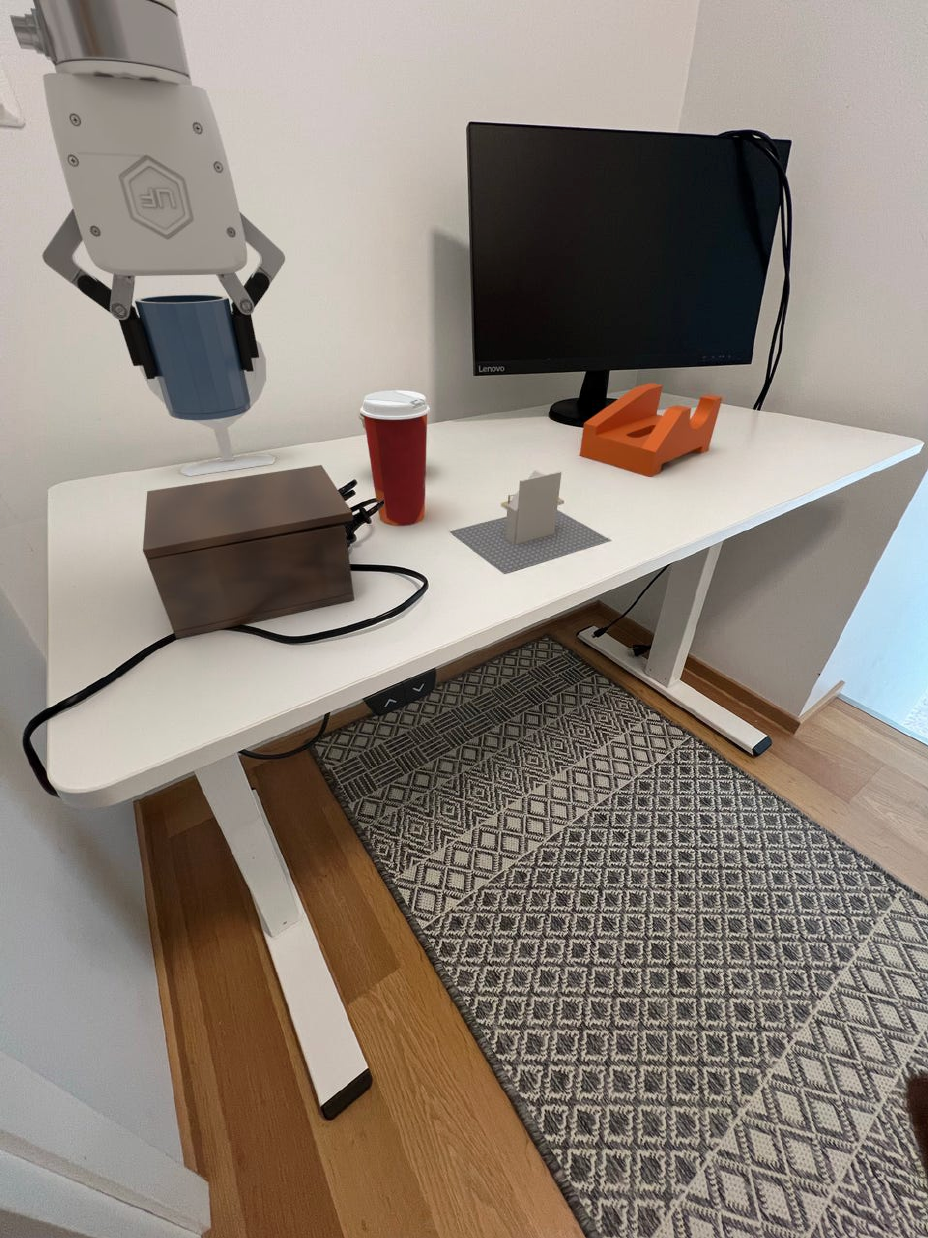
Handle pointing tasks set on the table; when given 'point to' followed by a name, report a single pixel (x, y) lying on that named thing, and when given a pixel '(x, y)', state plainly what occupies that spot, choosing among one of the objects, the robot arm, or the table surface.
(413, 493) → the paper cup
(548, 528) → the architectural model
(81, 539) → the table surface
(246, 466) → the heart sculpture
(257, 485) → the box lid
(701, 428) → the orange notched block
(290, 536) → the box
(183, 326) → the cup
